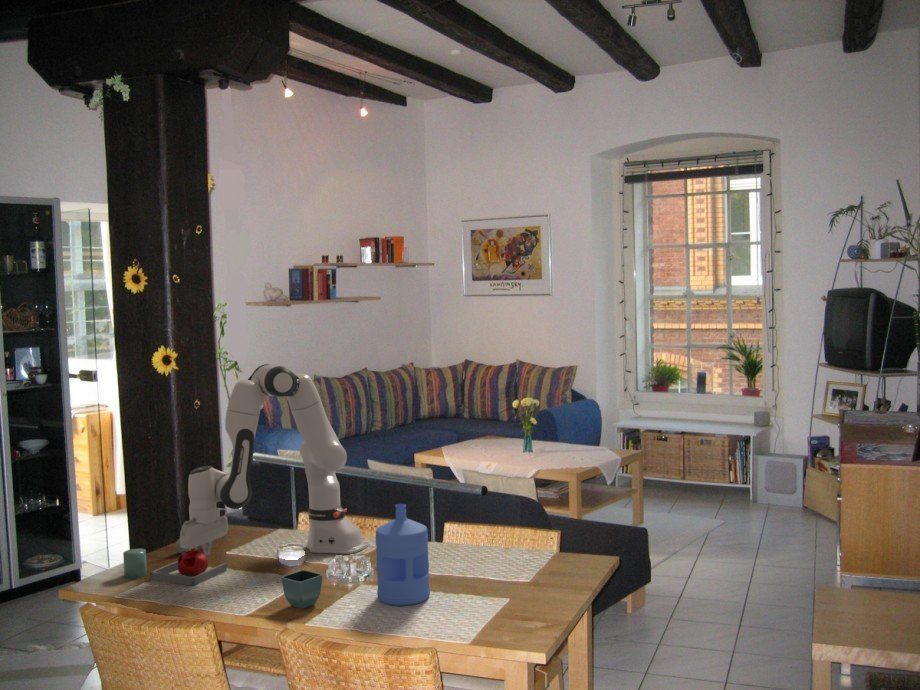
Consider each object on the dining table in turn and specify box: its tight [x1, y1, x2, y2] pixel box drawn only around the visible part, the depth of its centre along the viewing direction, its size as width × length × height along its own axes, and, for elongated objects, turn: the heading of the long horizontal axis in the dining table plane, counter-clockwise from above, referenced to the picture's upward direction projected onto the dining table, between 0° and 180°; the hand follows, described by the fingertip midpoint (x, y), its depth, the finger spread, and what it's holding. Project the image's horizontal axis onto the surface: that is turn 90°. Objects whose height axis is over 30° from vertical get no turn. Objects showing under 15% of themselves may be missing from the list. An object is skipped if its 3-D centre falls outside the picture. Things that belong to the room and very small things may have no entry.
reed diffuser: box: [171, 496, 197, 554], centre depth 324 cm, size 10×7×20 cm
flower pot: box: [281, 569, 323, 610], centre depth 267 cm, size 9×9×9 cm
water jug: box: [375, 503, 431, 607], centre depth 271 cm, size 16×16×28 cm
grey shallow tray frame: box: [149, 560, 228, 587], centre depth 299 cm, size 18×16×2 cm
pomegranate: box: [176, 548, 209, 577], centre depth 301 cm, size 10×10×9 cm
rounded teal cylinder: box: [122, 548, 148, 580], centre depth 300 cm, size 7×7×8 cm
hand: (205, 555), depth 306 cm, fingers closed
